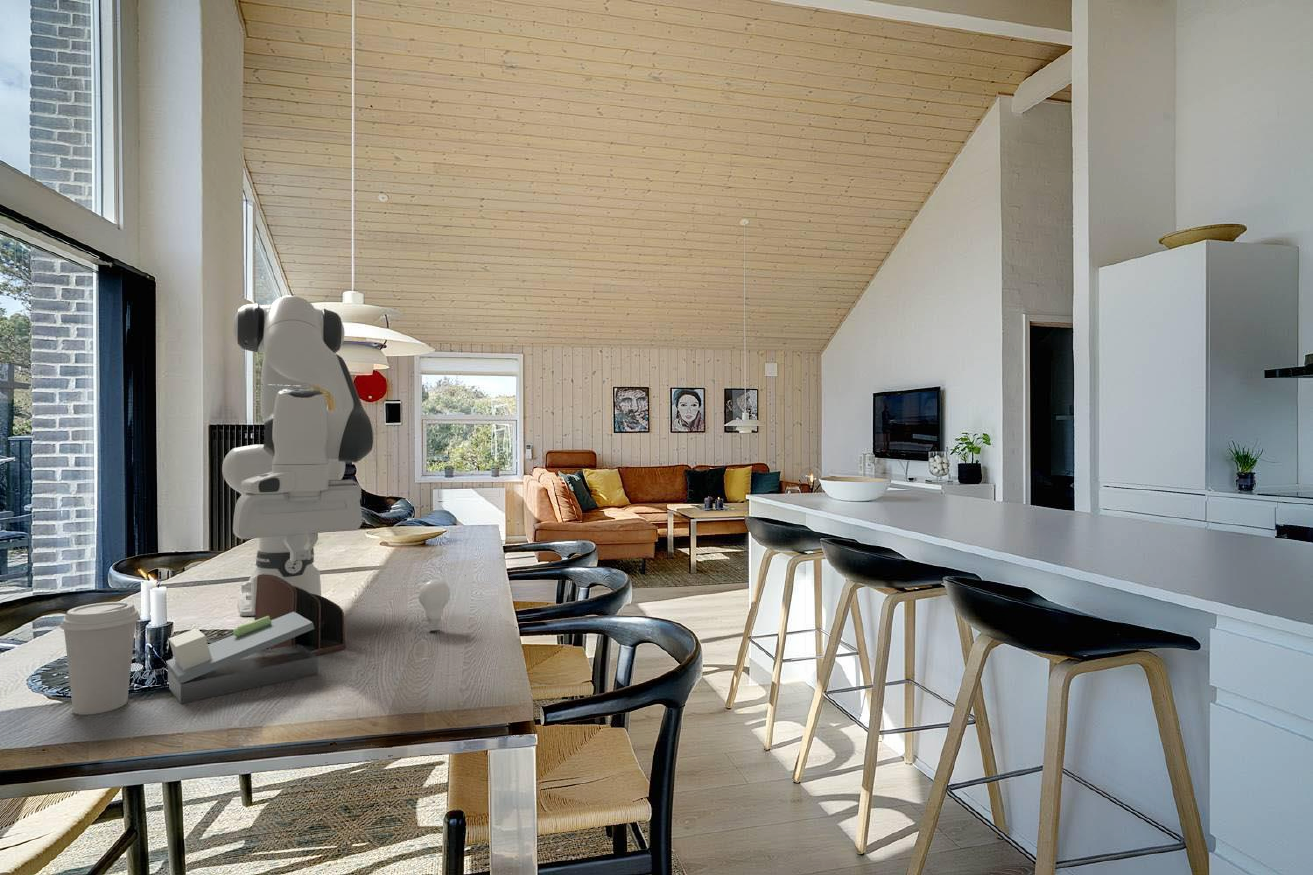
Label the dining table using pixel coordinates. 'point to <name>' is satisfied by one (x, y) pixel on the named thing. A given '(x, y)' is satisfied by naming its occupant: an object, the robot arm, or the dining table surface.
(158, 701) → the dining table surface
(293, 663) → the base
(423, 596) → the lightbulb
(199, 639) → the tilted grey plate
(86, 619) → the coffee cup
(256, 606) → the letter holder
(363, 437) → the robot arm
